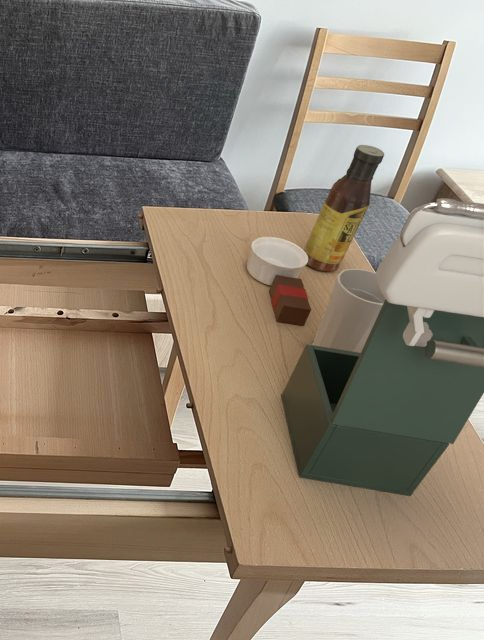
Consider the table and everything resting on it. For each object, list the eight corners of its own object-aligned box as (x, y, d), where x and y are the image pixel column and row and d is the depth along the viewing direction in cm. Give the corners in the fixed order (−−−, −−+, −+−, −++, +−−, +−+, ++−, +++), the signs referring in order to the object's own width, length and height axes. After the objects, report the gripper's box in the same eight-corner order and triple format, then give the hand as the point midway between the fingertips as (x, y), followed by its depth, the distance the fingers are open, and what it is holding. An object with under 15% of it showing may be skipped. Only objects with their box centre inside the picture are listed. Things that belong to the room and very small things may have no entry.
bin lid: (385, 298, 65) (402, 324, 61) (520, 320, 65) (547, 347, 61) (329, 419, 73) (342, 448, 69) (450, 439, 73) (469, 470, 69)
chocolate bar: (294, 295, 107) (302, 278, 105) (304, 326, 101) (311, 309, 99) (268, 290, 107) (275, 274, 105) (276, 321, 101) (283, 305, 99)
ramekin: (276, 255, 116) (285, 233, 113) (310, 286, 110) (320, 263, 107) (232, 262, 113) (240, 239, 110) (264, 293, 107) (274, 270, 104)
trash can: (280, 395, 89) (306, 343, 83) (379, 411, 89) (411, 360, 83) (299, 477, 79) (329, 424, 73) (410, 496, 78) (449, 444, 73)
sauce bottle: (329, 278, 112) (383, 164, 99) (293, 261, 115) (341, 148, 102) (344, 264, 116) (398, 152, 103) (310, 248, 119) (358, 137, 106)
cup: (357, 383, 92) (398, 312, 85) (298, 360, 95) (332, 289, 87) (366, 351, 98) (405, 282, 90) (310, 330, 101) (343, 261, 93)
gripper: (433, 215, 51) (357, 355, 60) (718, 256, 50) (598, 392, 59) (408, 177, 56) (341, 312, 65) (668, 213, 55) (564, 345, 64)
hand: (465, 350), depth 62 cm, fingers open, 8 cm apart
